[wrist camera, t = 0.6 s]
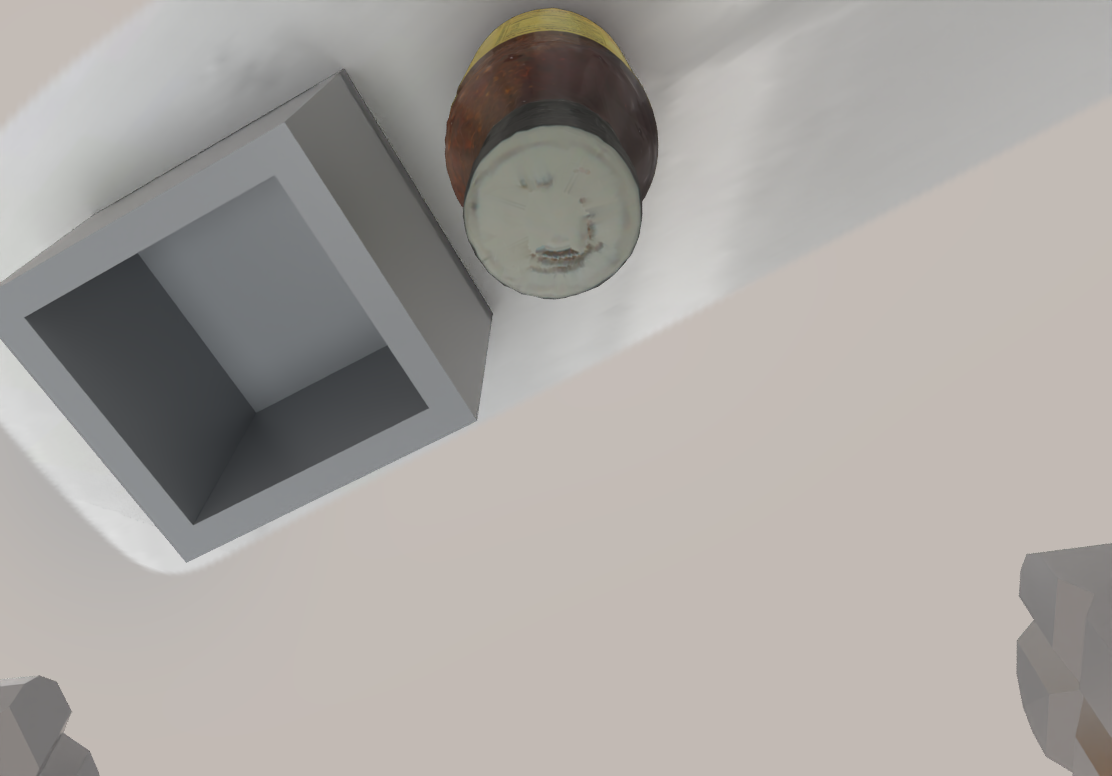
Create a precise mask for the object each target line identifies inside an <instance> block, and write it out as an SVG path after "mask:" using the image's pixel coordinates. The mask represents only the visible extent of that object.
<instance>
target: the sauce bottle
mask: <svg viewBox="0 0 1112 776" xmlns="http://www.w3.org/2000/svg"><path fill="white" fill-rule="evenodd" d="M445 145H446V148H445V158H446V167H447V171H448V174H449V178H450V181H451V184H452V187H453V190H454V192H455V195H456V197H457V199H458V201H459V203H460V204H461V206H462V207H463V218H464V224H465V230H466V234H467V237H468V240H469V242H470V244H471V246H472V248H473V251H474V253H475V255H476V257H477V258H478V259H479V260H480V261H481V263H482V264H483V265H484V267H485V268H486V270H487V271H488V272H489V273H490V274H491V275H492V276H493V277H494V278H496V279H497V280H498V281H499V282H501V283H502V284H503V285H505V286H507V287H510V288H512V289H514V290H516V291H517V292H519V293H521V294H525V295H531V296H536V297H539V298H543V299H560V298H566V297H569V296H573V295H577V294H580V293H583V292H586V291H588V290H591V289H593V288H596V287H598V286H600V285H601V284H602V283H604V282H605V281H607V280H608V279H609V278H610V277H612V276H613V275H614V274H615V273H616V272H617V271H618V270H619V269H620V268H621V266H622V265H623V264H624V263H625V262H626V260H627V259H628V258H629V257H630V256H631V254H632V252H633V250H634V248H635V245H636V243H637V240H638V238H639V233H640V227H641V221H642V201H643V199H644V198H645V196H646V194H647V192H648V190H649V188H650V185H651V183H652V180H653V177H654V174H655V169H656V165H657V157H658V133H657V126H656V121H655V117H654V113H653V110H652V107H651V104H650V102H649V99H648V97H647V95H646V93H645V91H644V89H643V87H642V85H641V83H640V82H639V80H638V79H637V77H636V76H635V75H634V73H633V71H632V70H631V68H630V66H629V65H628V63H627V61H626V59H625V58H624V56H623V54H622V52H621V51H620V49H619V47H618V46H617V44H616V43H615V42H614V41H613V39H612V38H611V37H610V36H609V35H608V34H607V33H606V32H605V31H604V30H603V29H602V28H600V27H599V26H598V25H596V24H595V23H594V22H592V21H590V20H589V19H587V18H585V17H583V16H581V15H579V14H576V13H573V12H570V11H566V10H561V9H557V8H548V9H539V10H533V11H529V12H526V13H523V14H520V15H517V16H515V17H513V18H511V19H510V20H508V21H506V22H505V23H503V24H502V25H500V26H499V27H498V28H496V29H495V30H494V31H493V32H492V33H491V34H490V35H489V36H488V37H487V38H486V40H485V41H484V42H483V44H482V45H481V46H480V48H479V49H478V51H477V53H476V54H475V56H474V59H473V60H472V62H471V64H470V66H469V68H468V70H467V72H466V74H465V76H464V78H463V80H462V81H461V83H460V85H459V87H458V90H457V95H456V97H455V99H454V101H453V103H452V106H451V110H450V114H449V118H448V121H447V129H446V137H445Z"/></svg>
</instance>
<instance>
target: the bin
mask: <svg viewBox="0 0 1112 776" xmlns="http://www.w3.org/2000/svg"><path fill="white" fill-rule="evenodd" d="M492 315H493V313H492V312H491V310H490V308H489V307H488V305H487V303H486V302H485V300H484V299H483V297H482V295H481V294H480V292H479V290H478V289H477V287H476V285H475V284H474V282H473V280H472V279H471V277H470V276H469V274H468V272H467V271H466V269H465V267H464V266H463V264H462V262H461V261H460V259H459V257H458V256H457V254H456V252H455V251H454V249H453V248H452V246H451V244H450V243H449V241H448V239H447V238H446V236H445V234H444V233H443V231H442V229H441V228H440V226H439V224H438V223H437V221H436V220H435V218H434V216H433V215H432V213H431V211H430V210H429V208H428V206H427V205H426V203H425V201H424V200H423V198H422V196H421V195H420V193H419V192H418V190H417V188H416V187H415V185H414V183H413V182H412V180H411V178H410V177H409V175H408V173H407V172H406V170H405V168H404V167H403V165H402V164H401V162H400V160H399V159H398V157H397V155H396V154H395V152H394V150H393V149H392V147H391V145H390V144H389V142H388V141H387V139H386V137H385V136H384V134H383V132H382V131H381V129H380V127H379V126H378V124H377V122H376V121H375V119H374V117H373V116H372V114H371V113H370V111H369V109H368V108H367V106H366V104H365V103H364V101H363V99H362V98H361V96H360V94H359V93H358V91H357V89H356V88H355V86H354V85H353V83H352V81H351V80H350V78H349V76H348V75H347V73H346V71H345V70H344V69H342V70H341V71H339V72H337V73H336V74H334V75H332V76H330V77H329V78H327V79H325V80H324V81H322V82H320V83H319V84H317V85H315V86H313V87H312V88H310V89H308V90H307V91H305V92H303V93H301V94H300V95H298V96H296V97H295V98H293V99H291V100H289V101H288V102H286V103H284V104H283V105H281V106H279V107H277V108H276V109H274V110H272V111H271V112H269V113H267V114H265V115H264V116H262V117H260V118H259V119H257V120H255V121H254V122H252V123H250V124H248V125H247V126H245V127H243V128H242V129H240V130H238V131H236V132H235V133H233V134H231V135H230V136H228V137H226V138H224V139H223V140H221V141H219V142H218V143H216V144H214V145H212V146H211V147H209V148H207V149H206V150H204V151H202V152H200V153H199V154H197V155H195V156H194V157H192V158H190V159H189V160H187V161H185V162H183V163H182V164H180V165H178V166H177V167H175V168H173V169H171V170H170V171H168V172H166V173H165V174H163V175H161V176H159V177H158V178H156V179H154V180H153V181H151V182H149V183H147V184H146V185H144V186H142V187H141V188H139V189H137V190H135V191H134V192H132V193H130V194H129V195H127V196H125V197H124V198H122V199H120V200H118V201H117V202H115V203H113V204H112V205H110V206H108V207H106V208H105V209H103V210H101V211H100V212H98V213H96V214H94V215H93V216H91V217H90V218H88V219H87V220H86V221H84V222H83V223H81V224H80V225H79V226H77V227H76V228H75V229H73V230H72V231H71V232H69V233H68V234H66V235H65V236H64V237H62V238H61V239H60V240H58V241H57V242H55V243H54V244H53V245H51V246H50V247H49V248H47V249H46V250H44V251H43V252H42V253H40V254H39V255H38V256H36V257H35V258H33V259H32V260H31V261H29V262H28V263H27V264H25V265H24V266H22V267H21V268H20V269H18V270H17V271H16V272H14V273H13V274H11V275H10V276H9V277H7V278H6V279H5V280H3V281H2V282H0V339H1V340H2V341H3V343H4V344H5V345H6V346H7V347H8V349H9V350H10V351H11V352H12V353H13V355H14V356H15V357H16V358H17V359H18V361H19V362H20V363H21V364H22V365H23V367H24V368H25V369H26V370H27V371H28V373H29V374H30V375H31V376H32V377H33V379H34V380H35V381H36V382H37V383H38V385H39V386H40V387H41V388H42V389H43V391H44V392H45V393H46V394H47V396H48V397H49V398H50V399H51V400H52V402H53V403H54V404H55V405H56V406H57V408H58V409H59V410H60V411H61V412H62V414H63V415H64V416H65V417H66V418H67V420H68V421H69V422H70V423H71V424H72V426H73V427H74V428H75V429H76V430H77V432H78V433H79V434H80V435H81V436H82V438H83V439H84V440H85V441H86V442H87V444H88V445H89V446H90V447H91V448H92V450H93V451H94V452H95V453H96V454H97V456H98V457H99V458H100V459H101V461H102V462H103V463H104V464H105V465H106V467H107V468H108V469H109V470H110V471H111V473H112V474H113V475H114V476H115V477H116V479H117V480H118V481H119V482H120V483H121V485H122V486H123V487H124V488H125V489H126V491H127V492H128V493H129V494H130V495H131V497H132V498H133V499H134V500H135V501H136V503H137V504H138V505H139V506H140V507H141V509H142V510H143V511H144V512H145V513H146V515H147V516H148V517H149V518H150V519H151V521H152V522H153V523H154V524H155V526H156V527H157V528H158V529H159V530H160V532H161V533H162V534H163V535H164V536H165V538H166V539H167V540H168V541H169V542H170V544H171V545H172V546H173V547H174V548H175V550H176V551H177V552H178V553H179V554H180V556H181V557H182V558H183V559H184V560H185V562H186V563H187V562H189V561H191V560H193V559H195V558H197V557H199V556H201V555H203V554H205V553H207V552H209V551H211V550H213V549H215V548H218V547H220V546H222V545H224V544H226V543H228V542H230V541H232V540H234V539H236V538H238V537H240V536H242V535H244V534H246V533H248V532H250V531H252V530H254V529H256V528H258V527H261V526H263V525H265V524H267V523H269V522H271V521H273V520H275V519H277V518H279V517H281V516H283V515H285V514H287V513H289V512H291V511H293V510H295V509H297V508H299V507H301V506H304V505H306V504H308V503H310V502H312V501H314V500H316V499H318V498H320V497H322V496H324V495H326V494H328V493H330V492H332V491H334V490H336V489H338V488H340V487H342V486H344V485H347V484H349V483H351V482H353V481H355V480H357V479H359V478H361V477H363V476H365V475H367V474H369V473H371V472H373V471H375V470H377V469H379V468H381V467H383V466H385V465H387V464H390V463H392V462H394V461H396V460H398V459H400V458H402V457H404V456H406V455H408V454H410V453H412V452H414V451H416V450H418V449H420V448H422V447H424V446H426V445H428V444H430V443H433V442H435V441H437V440H439V439H441V438H443V437H445V436H447V435H449V434H451V433H453V432H455V431H457V430H459V429H461V428H463V427H465V426H467V425H469V424H471V423H473V422H476V421H477V417H478V411H479V404H480V397H481V390H482V383H483V376H484V370H485V363H486V356H487V349H488V342H489V336H490V329H491V322H492Z"/></svg>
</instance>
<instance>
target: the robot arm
mask: <svg viewBox="0 0 1112 776" xmlns="http://www.w3.org/2000/svg"><path fill="white" fill-rule="evenodd" d="M1019 597H1020V598H1021V600H1022V601H1023V603H1024V604H1025V606H1026V608H1027V609H1028V611H1029V613H1030V614H1031V616H1032V617H1033V619H1034V620H1033V622H1032V623H1031V624H1030V625H1029V626H1028V628H1027V629H1026V630H1025V631H1024V632H1023V634H1022V635H1021V636H1020V637H1019V638H1018V640H1017V677H1018V683H1019V688H1020V694H1021V699H1022V704H1023V708H1024V711H1025V713H1026V716H1027V719H1028V721H1029V724H1030V727H1031V729H1032V732H1033V734H1034V735H1035V737H1036V739H1037V741H1038V743H1039V745H1040V746H1041V748H1042V750H1043V752H1044V754H1045V756H1046V757H1048V758H1049V759H1051V760H1053V761H1054V762H1056V763H1058V764H1059V765H1061V766H1063V767H1064V768H1066V769H1068V770H1069V771H1071V772H1073V776H1112V543H1111V544H1102V545H1095V546H1087V547H1080V548H1072V549H1063V550H1056V551H1048V552H1040V553H1033V554H1027V555H1026V557H1025V560H1024V563H1023V565H1022V568H1021V573H1020V589H1019ZM70 714H71V709H70V707H69V705H68V703H67V701H66V699H65V697H64V695H63V693H62V691H61V690H60V687H59V685H58V683H57V682H56V681H53V680H51V679H48V678H45V677H42V676H30V677H21V678H10V679H0V776H99V772H98V770H97V767H96V765H95V763H94V760H93V758H92V756H91V753H90V751H89V750H87V749H86V748H85V747H83V746H82V745H80V744H79V743H77V742H76V741H74V740H73V739H71V738H70V737H68V736H67V735H66V734H64V733H63V732H64V730H65V727H66V724H67V722H68V720H69V717H70Z"/></svg>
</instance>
